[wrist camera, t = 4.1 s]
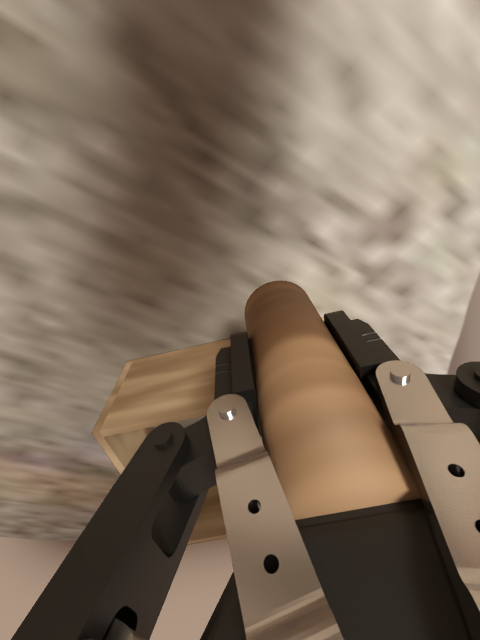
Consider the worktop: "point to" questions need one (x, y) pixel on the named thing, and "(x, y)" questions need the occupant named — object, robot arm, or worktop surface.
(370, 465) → the peg
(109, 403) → the crate
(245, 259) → the worktop surface
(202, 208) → the worktop surface
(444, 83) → the worktop surface
